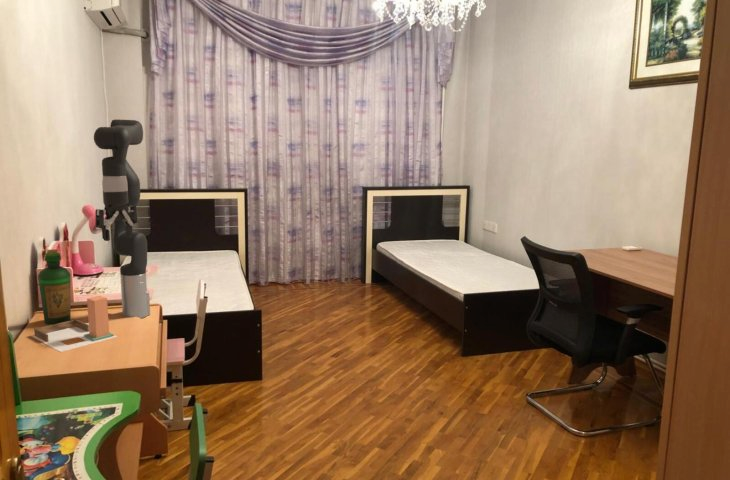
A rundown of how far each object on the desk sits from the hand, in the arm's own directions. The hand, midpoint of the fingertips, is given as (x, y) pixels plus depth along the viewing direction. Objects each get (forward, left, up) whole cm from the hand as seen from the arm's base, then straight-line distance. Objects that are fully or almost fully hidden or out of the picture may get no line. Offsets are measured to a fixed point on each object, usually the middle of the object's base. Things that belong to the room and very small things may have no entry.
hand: (118, 238), depth 188 cm
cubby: (+11, -20, -35) cm, 42 cm away
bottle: (+6, -36, -36) cm, 51 cm away
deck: (+10, -15, -36) cm, 40 cm away
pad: (+4, -9, -35) cm, 36 cm away
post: (+4, -9, -34) cm, 36 cm away
